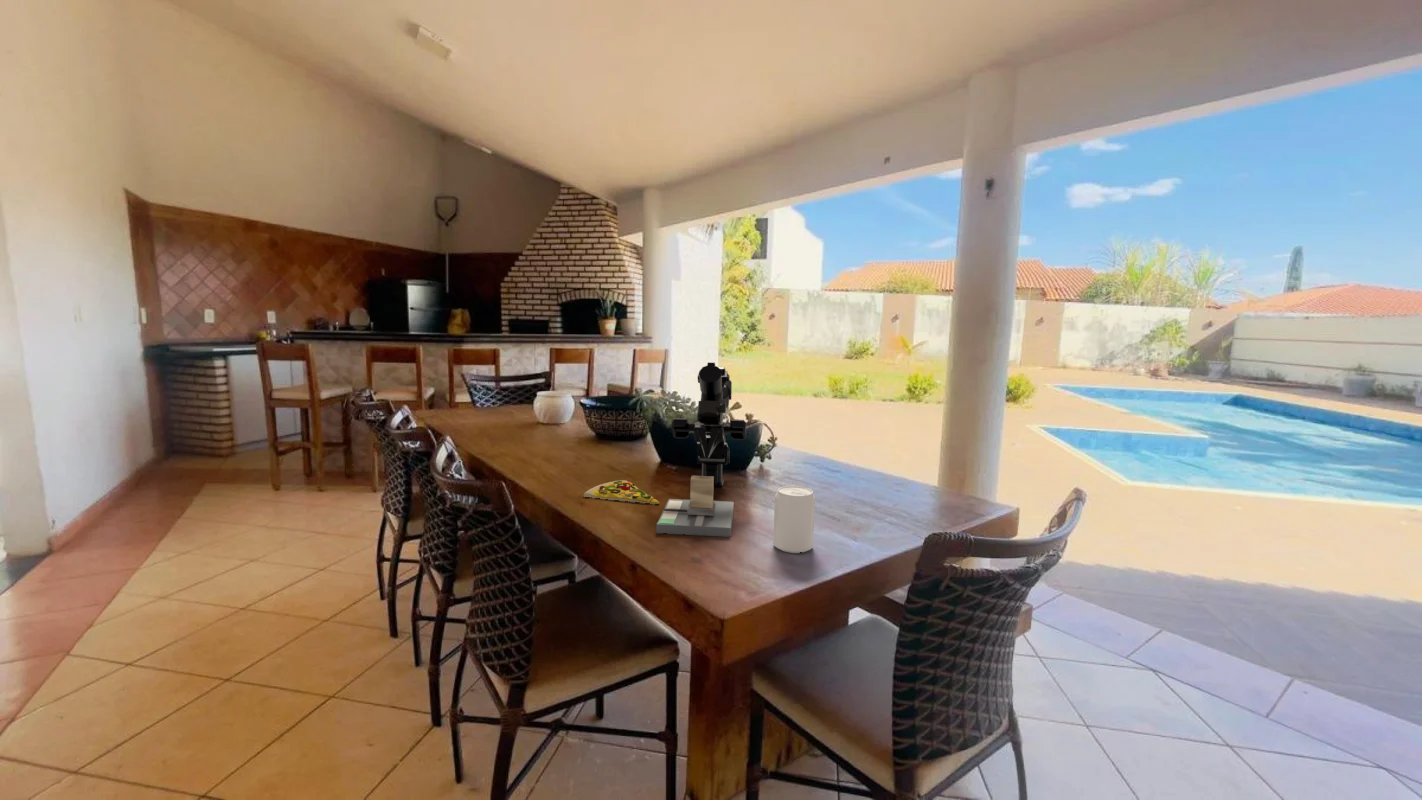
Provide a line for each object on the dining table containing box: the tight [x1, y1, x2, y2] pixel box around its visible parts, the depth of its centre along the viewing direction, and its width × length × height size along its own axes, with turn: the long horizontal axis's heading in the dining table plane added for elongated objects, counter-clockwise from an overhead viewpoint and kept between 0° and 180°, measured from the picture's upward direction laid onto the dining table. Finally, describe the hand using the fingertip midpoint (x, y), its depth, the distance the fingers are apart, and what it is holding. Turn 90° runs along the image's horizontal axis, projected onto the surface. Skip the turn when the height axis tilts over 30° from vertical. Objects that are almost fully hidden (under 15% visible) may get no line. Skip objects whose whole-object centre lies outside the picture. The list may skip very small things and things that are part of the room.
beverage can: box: [772, 485, 816, 554], centre depth 117 cm, size 8×8×12 cm
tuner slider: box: [663, 475, 716, 516], centre depth 130 cm, size 5×12×8 cm, turn 86°
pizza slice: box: [583, 479, 660, 505], centre depth 149 cm, size 16×21×3 cm
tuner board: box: [656, 498, 735, 538], centre depth 132 cm, size 18×16×2 cm
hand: (706, 457), depth 141 cm, fingers closed
